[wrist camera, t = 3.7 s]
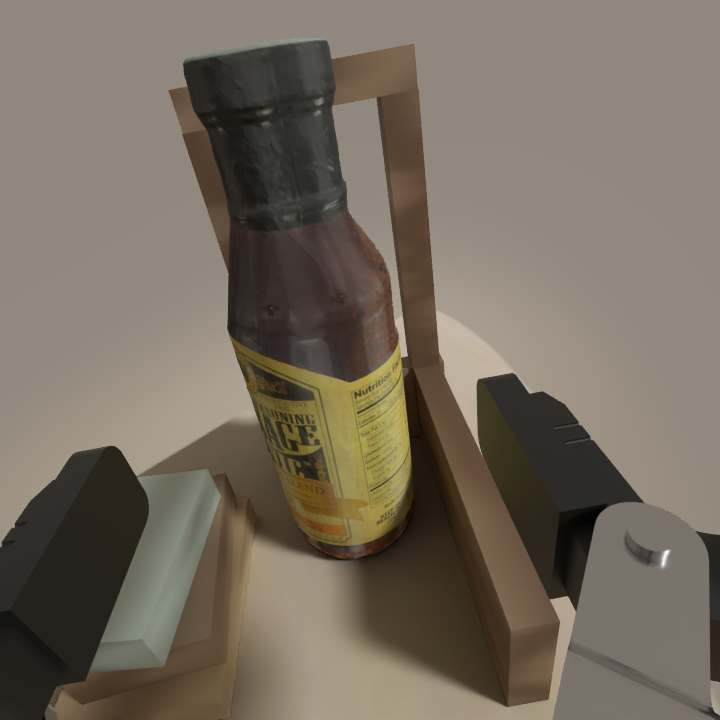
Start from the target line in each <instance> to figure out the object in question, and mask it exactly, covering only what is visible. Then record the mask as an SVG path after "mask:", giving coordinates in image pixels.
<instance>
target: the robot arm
mask: <svg viewBox="0 0 720 720" xmlns="http://www.w3.org/2000/svg"><path fill="white" fill-rule="evenodd" d="M477 422H478V439H479V444H480V448H481V452H482V455H483V458H484V460H485V463H486V465H487V467H488V469H489V471H490V473H491V475H492V478H493V480H494V482H495V484H496V486H497V488H498V490H499V493H500V495H501V497H502V499H503V501H504V503H505V505H506V508H507V510H508V512H509V514H510V516H511V518H512V521H513V523H514V525H515V527H516V529H517V531H518V533H519V536H520V538H521V540H522V542H523V544H524V546H525V548H526V551H527V553H528V555H529V557H530V559H531V561H532V563H533V566H534V568H535V570H536V572H537V574H538V576H539V578H540V581H541V583H542V585H543V587H544V589H545V591H546V594H547V596H548V598H549V599H554V598H560V597H565V596H568V597H569V599H570V601H571V603H572V604H573V606H574V608H575V610H576V616H575V621H574V625H573V630H572V635H571V639H570V644H569V647H568V651H567V655H566V659H565V664H564V669H563V673H562V678H561V682H560V687H559V692H558V696H557V701H556V706H555V710H554V715H553V720H720V716H719V715H718V714H716V713H715V712H714V710H713V708H712V703H711V691H710V680H712V681H718V682H720V535H714V534H707V533H702V532H698V531H695V530H694V529H693V528H692V527H690V526H689V525H688V524H687V523H686V522H684V521H683V520H682V519H680V518H679V517H677V516H676V515H674V514H672V513H670V512H668V511H666V510H664V509H662V508H659V507H656V506H653V505H649V504H645V503H644V502H643V501H642V500H641V499H640V497H639V496H638V495H637V494H636V493H635V491H634V490H633V489H632V488H631V486H630V485H629V484H628V483H627V481H626V480H625V479H624V478H623V476H622V475H621V474H620V473H619V472H618V470H617V469H616V468H615V466H614V465H613V464H612V463H611V461H610V460H609V459H608V458H607V457H606V455H605V454H604V453H603V452H602V450H601V449H600V448H599V447H598V445H597V444H596V443H595V442H594V440H591V438H590V435H589V434H588V433H587V432H586V431H585V429H584V428H583V427H582V426H580V425H579V422H578V421H577V419H576V418H575V417H574V416H573V414H572V413H571V412H570V411H569V409H568V408H567V407H566V406H565V404H563V403H561V402H560V401H558V400H556V399H555V398H553V397H551V396H550V395H548V394H546V393H545V392H537V393H532V394H529V393H528V391H527V390H526V388H525V387H524V386H523V384H522V383H521V381H520V380H519V379H518V377H517V376H516V375H515V374H514V373H510V374H504V375H499V376H493V377H488V378H483V379H479V380H478V381H477ZM148 516H149V502H148V497H147V494H146V492H145V490H144V489H143V487H142V485H141V484H140V482H139V480H138V479H137V477H136V475H135V474H134V472H133V470H132V469H131V467H130V465H129V464H128V462H127V460H126V459H125V457H124V456H123V454H122V452H121V451H120V450H119V449H118V448H117V447H115V446H108V447H102V448H97V449H92V450H86V451H81V452H76V453H74V454H73V455H72V456H71V457H70V458H69V460H68V461H67V463H66V464H65V466H64V467H63V469H62V470H61V472H60V473H59V475H58V476H57V478H56V479H55V480H53V481H52V482H51V483H50V484H49V485H48V486H46V487H45V488H44V489H43V490H42V491H41V492H40V493H39V494H38V495H37V496H35V497H34V498H33V499H32V500H31V501H30V502H29V504H28V505H27V507H26V508H25V509H24V511H23V513H22V514H21V515H20V517H19V518H18V520H17V521H16V523H15V528H12V529H11V530H10V531H9V533H8V534H7V536H6V537H5V539H4V540H3V541H2V547H0V720H58V717H57V713H56V710H55V708H54V707H53V706H52V705H51V704H50V703H49V702H50V700H51V697H52V695H53V693H54V691H55V688H56V686H61V685H67V684H72V683H78V682H83V681H86V678H87V676H88V673H89V670H90V668H91V665H92V663H93V660H94V657H95V655H96V652H97V650H98V647H99V644H100V642H101V639H102V637H103V634H104V632H105V629H106V626H107V624H108V621H109V619H110V616H111V613H112V611H113V608H114V606H115V603H116V601H117V598H118V595H119V593H120V590H121V588H122V585H123V582H124V580H125V577H126V575H127V572H128V569H129V567H130V564H131V562H132V559H133V557H134V554H135V551H136V549H137V546H138V544H139V541H140V538H141V536H142V533H143V531H144V528H145V526H146V523H147V520H148Z"/></svg>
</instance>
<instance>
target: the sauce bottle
mask: <svg viewBox="0 0 720 720" xmlns="http://www.w3.org/2000/svg"><path fill="white" fill-rule="evenodd" d="M183 67H184V76H185V79H186V82H187V86H188V90H189V94H190V99H191V103H192V107H193V110H194V112H195V114H196V115H197V117H198V118H199V120H200V121H201V123H202V124H203V126H204V127H205V128H206V130H207V132H208V135H209V139H210V143H211V145H212V151H213V154H214V158H215V162H216V164H217V166H218V169H219V172H220V176H221V180H222V185H223V187H224V191H225V195H226V199H227V210H228V213H229V216H230V235H229V284H228V326H227V329H228V332H229V335H230V338H231V341H232V344H233V347H234V350H235V353H236V357H237V360H238V363H239V365H240V368H241V370H242V373H243V376H244V379H245V382H246V384H247V389H248V391H249V393H250V396H251V399H252V402H253V405H254V409H255V412H256V414H257V417H258V420H259V422H260V425H261V429H262V431H263V433H264V437H265V440H266V443H267V446H268V450H269V452H270V454H271V456H272V459H273V462H274V465H275V468H276V471H277V473H278V476H279V479H280V482H281V485H282V487H283V490H284V493H285V496H286V499H287V502H288V505H289V507H290V510H291V513H292V515H293V518H294V520H295V521H296V523H297V524H298V526H299V527H300V530H301V532H302V533H303V535H304V537H305V538H306V539H307V540H308V541H309V542H310V543H311V544H312V545H313V546H315V547H316V548H318V549H319V550H321V551H323V552H324V553H325V554H330V555H332V556H333V557H337V558H339V559H352V560H353V559H356V558H359V557H361V556H368V555H371V554H374V553H378V552H380V551H382V550H384V549H386V548H387V547H389V546H390V545H391V544H392V543H393V542H394V541H395V540H396V539H397V538H398V537H399V536H400V535H401V533H402V532H403V531H404V529H405V528H406V526H407V523H408V521H409V519H410V518H411V516H412V513H413V508H414V499H413V495H414V481H413V471H412V461H411V451H410V441H409V431H408V422H407V412H406V402H405V393H404V383H403V373H402V363H401V353H400V343H399V334H398V331H397V328H396V326H395V323H394V314H393V306H392V291H391V283H390V276H389V272H388V269H387V267H386V263H385V262H384V259H383V257H382V255H381V254H380V252H379V251H378V250H377V249H376V248H375V244H374V243H373V242H372V241H371V240H370V239H369V238H368V236H367V235H366V234H365V232H364V231H363V230H362V228H360V226H359V225H358V224H357V223H356V221H355V220H354V219H353V218H352V216H351V215H350V214H349V211H348V208H347V189H346V182H345V181H344V180H343V178H342V173H341V167H340V161H339V152H338V144H337V138H336V133H335V127H334V119H333V114H332V106H333V102H334V94H335V90H336V84H335V78H334V71H333V65H332V60H331V55H330V49H329V45H328V42H327V40H326V39H324V38H302V39H286V40H274V41H266V42H259V43H253V44H247V45H242V46H235V47H230V48H227V49H222V50H218V51H213V52H210V53H206V54H202V55H198V56H193V57H190V58H187V59H185V61H184V63H183Z"/></svg>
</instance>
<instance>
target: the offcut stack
mask: <svg viewBox="0 0 720 720" xmlns="http://www.w3.org/2000/svg"><path fill="white" fill-rule="evenodd" d="M137 479H138V480H139V482H140V484H141V485H142V487H143V489H144V490H145V492H146V494H147V497H148V502H149V516H148V520H147V523H146V526H145V528H144V531H143V533H142V536H141V538H140V541H139V544H138V546H137V549H136V551H135V554H134V557H133V559H132V562H131V564H130V567H129V569H128V572H127V575H126V577H125V580H124V582H123V585H122V588H121V590H120V593H119V595H118V598H117V601H116V603H115V606H114V608H113V611H112V613H111V616H110V619H109V621H108V624H107V626H106V629H105V632H104V634H103V637H102V639H101V642H100V644H99V647H98V650H97V652H96V655H95V657H94V660H93V663H92V665H91V668H90V670H89V673H88V676H87V678H86V681H83V682H78V683H72V684H67V685H61V687H62V688H63V689H62V691H61V693H60V696H59V698H58V700H57V703H56V705H55V710H56V713H57V717H58V720H217V719H223V718H228V717H230V713H231V705H232V697H233V690H234V682H235V675H236V667H237V660H238V652H239V644H240V637H241V629H242V622H243V614H244V607H245V599H246V592H247V584H248V576H249V569H250V561H251V554H252V546H253V539H254V531H255V523H256V514H255V511H254V509H253V507H252V504H251V502H250V500H249V497H248V496H245V497H240V498H236V496H235V494H234V492H233V489H232V487H231V485H230V483H229V480H228V478H227V476H226V474H225V473H224V474H220V475H216V476H211V474H210V472H209V470H208V469H201V470H193V471H184V472H176V473H168V474H159V475H151V476H143V477H137Z"/></svg>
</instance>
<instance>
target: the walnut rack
mask: <svg viewBox="0 0 720 720" xmlns="http://www.w3.org/2000/svg"><path fill="white" fill-rule="evenodd" d="M331 60H332V65H333V71H334V78H335V84H336V90H335V94H334V102H333V105H338V104H344V103H349V102H354V101H360V100H365V99H370V98H375V97H377V106H378V114H379V122H380V130H381V139H382V147H383V155H384V163H385V171H386V179H387V187H388V196H389V205H390V213H391V221H392V229H393V237H394V245H395V253H396V262H397V270H398V279H399V286H400V295H401V303H402V312H403V320H404V328H405V337H406V345H407V353H408V357H403V358H401V363H402V373H403V383H404V393H405V402H406V412H407V422H408V431H409V438H410V437H415V436H421V437H422V440H423V443H424V446H425V449H426V452H427V456H428V459H429V462H430V465H431V468H432V471H433V474H434V477H435V481H436V484H437V487H438V490H439V493H440V496H441V499H442V502H443V506H444V509H445V512H446V515H447V518H448V521H449V524H450V527H451V530H452V534H453V537H454V540H455V543H456V546H457V549H458V552H459V555H460V559H461V562H462V565H463V568H464V571H465V574H466V577H467V580H468V584H469V587H470V590H471V593H472V596H473V599H474V602H475V605H476V608H477V612H478V615H479V618H480V621H481V624H482V627H483V630H484V633H485V637H486V640H487V643H488V646H489V649H490V652H491V655H492V658H493V662H494V665H495V668H496V671H497V674H498V677H499V680H500V683H501V687H502V690H503V693H504V696H505V699H506V702H507V705H508V707H510V706H515V705H521V704H526V703H532V702H537V701H543V700H548V699H549V693H550V686H551V679H552V672H553V666H554V659H555V652H556V645H557V638H558V632H559V625H560V621H559V618H558V616H557V614H556V612H555V610H554V608H553V606H552V604H551V601H550V599H549V598H548V596H547V594H546V591H545V589H544V587H543V585H542V583H541V581H540V578H539V576H538V574H537V572H536V570H535V568H534V566H533V563H532V561H531V559H530V557H529V555H528V553H527V551H526V548H525V546H524V544H523V542H522V540H521V538H520V536H519V533H518V531H517V529H516V527H515V525H514V523H513V521H512V519H511V516H510V514H509V512H508V510H507V508H506V506H505V504H504V502H503V499H502V497H501V495H500V493H499V491H498V489H497V487H496V485H495V482H494V480H493V478H492V476H491V474H490V472H489V470H488V468H487V465H486V463H485V461H484V459H483V457H482V455H481V453H480V451H479V448H478V446H477V444H476V442H475V440H474V438H473V436H472V434H471V431H470V429H469V427H468V425H467V423H466V421H465V419H464V417H463V414H462V412H461V410H460V408H459V406H458V404H457V402H456V400H455V397H454V395H453V393H452V391H451V389H450V387H449V385H448V383H447V380H446V378H445V375H444V362H443V360H442V358H441V356H440V354H439V348H438V335H437V322H436V309H435V297H434V283H433V270H432V258H431V245H430V232H429V219H428V207H427V194H426V180H425V167H424V154H423V142H422V129H421V116H420V102H419V90H418V87H417V74H416V61H415V48H414V44H410V45H405V46H400V47H394V48H389V49H384V50H379V51H373V52H368V53H363V54H357V55H352V56H347V57H342V58H336V59H331ZM169 93H170V96H171V99H172V102H173V105H174V108H175V111H176V114H177V117H178V120H179V123H180V126H181V129H182V132H183V134H182V135H183V138H184V141H185V144H186V147H187V150H188V153H189V156H190V159H191V162H192V165H193V168H194V171H195V174H196V177H197V180H198V183H199V186H200V189H201V192H202V195H203V198H204V201H205V204H206V207H207V210H208V213H209V216H210V219H211V222H212V225H213V228H214V231H215V234H216V237H217V240H218V243H219V246H220V249H221V252H222V255H223V258H224V261H225V264H226V267H227V270H228V273H229V235H230V216H229V213H228V210H227V199H226V195H225V191H224V187H223V185H222V180H221V176H220V172H219V169H218V166H217V164H216V162H215V158H214V154H213V151H212V145H211V143H210V139H209V135H208V132H207V130H206V128H205V127H204V126H203V124H202V123H201V121H200V120H199V118H198V117H197V115H196V114H195V112H194V110H193V107H192V103H191V99H190V94H189V90H188V87H183V88H178V89H173V90H169Z"/></svg>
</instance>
